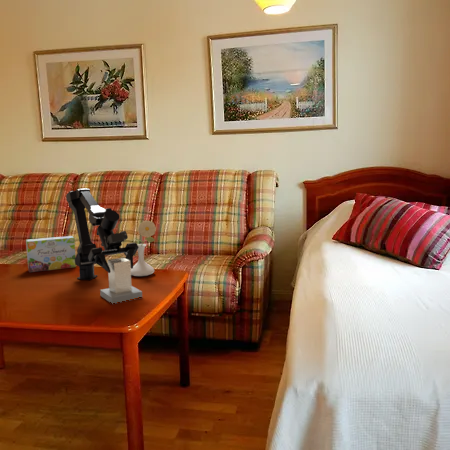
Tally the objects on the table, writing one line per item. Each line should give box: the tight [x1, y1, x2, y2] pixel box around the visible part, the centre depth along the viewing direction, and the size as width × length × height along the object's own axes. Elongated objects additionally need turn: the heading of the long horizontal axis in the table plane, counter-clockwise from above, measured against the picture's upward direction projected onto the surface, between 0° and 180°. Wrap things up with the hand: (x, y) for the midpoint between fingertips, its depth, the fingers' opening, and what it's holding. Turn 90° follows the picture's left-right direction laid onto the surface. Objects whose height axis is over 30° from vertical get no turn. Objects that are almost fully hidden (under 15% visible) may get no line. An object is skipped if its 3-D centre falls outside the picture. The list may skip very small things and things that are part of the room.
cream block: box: [107, 257, 132, 294], centre depth 168 cm, size 6×6×12 cm
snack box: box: [25, 235, 77, 273], centre depth 212 cm, size 21×6×15 cm, turn 117°
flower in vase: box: [131, 220, 157, 277], centre depth 199 cm, size 13×11×25 cm
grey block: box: [99, 285, 143, 305], centre depth 170 cm, size 12×12×3 cm
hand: (121, 270), depth 167 cm, fingers open, 9 cm apart
